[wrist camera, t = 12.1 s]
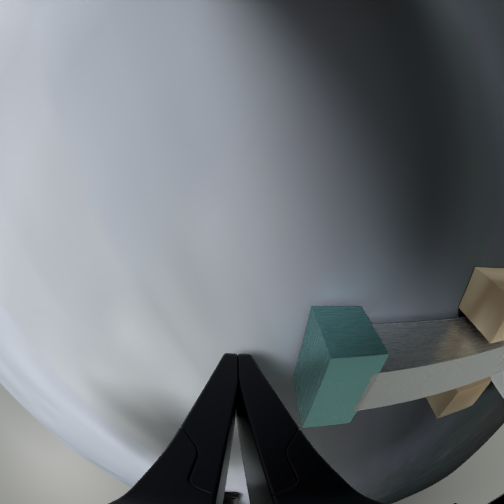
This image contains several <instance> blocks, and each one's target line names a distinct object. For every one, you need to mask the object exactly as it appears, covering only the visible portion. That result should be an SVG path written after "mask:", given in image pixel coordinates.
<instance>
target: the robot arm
mask: <svg viewBox="0 0 504 504" xmlns="http://www.w3.org/2000/svg"><path fill="white" fill-rule="evenodd" d="M235 417H237V425H238V432H239V439H240V445H241V452H242V458H243V464H244V470H245V476H246V482H247V488H248V494H249V500H250V504H384V503H381V502H378V501H375V500H373V499H370V498H368V497H366V496H364V495H362V494H360V493H359V492H357V491H356V490H355V489H353V488H352V487H351V486H350V485H349V484H348V483H347V482H346V481H345V480H344V479H343V478H342V477H341V476H340V475H339V474H338V473H337V472H336V471H335V470H334V469H333V468H332V467H331V466H330V465H329V464H328V463H327V462H326V461H325V460H324V459H323V458H322V457H321V456H320V455H319V454H318V452H317V451H316V450H315V449H314V448H313V446H312V445H311V444H310V442H309V441H308V440H307V439H306V437H305V436H304V434H303V433H302V431H301V430H299V427H298V426H297V424H296V423H295V422H294V420H293V419H292V417H291V416H290V414H289V413H288V411H287V410H286V408H285V407H284V405H283V404H282V402H281V401H280V399H279V398H278V396H277V395H276V393H275V392H274V390H273V389H272V387H271V386H270V384H269V383H268V381H267V379H266V378H265V376H264V375H263V373H262V372H261V370H260V369H259V367H258V365H257V364H256V362H255V361H254V359H253V357H252V356H251V355H250V354H238V356H237V354H231V353H225V354H224V355H223V357H222V359H221V360H220V362H219V364H218V365H217V367H216V369H215V370H214V372H213V374H212V376H211V377H210V379H209V381H208V382H207V384H206V386H205V387H204V389H203V391H202V392H201V394H200V396H199V397H198V399H197V401H196V402H195V404H194V406H193V407H192V409H191V411H190V412H189V414H188V416H187V417H186V419H185V421H184V422H183V424H182V426H181V428H180V429H179V430H178V432H177V433H176V435H175V437H174V438H173V440H172V441H171V443H170V444H169V446H168V447H167V448H166V450H165V451H164V452H163V453H162V455H161V456H160V457H159V458H158V460H157V461H156V462H155V463H154V464H153V465H152V467H151V468H150V469H149V470H148V471H147V472H146V473H145V474H144V475H143V477H142V478H141V479H140V480H139V481H138V482H137V483H136V484H135V485H134V486H133V487H132V488H131V489H130V490H129V491H128V492H127V493H126V494H125V495H123V496H122V497H120V498H119V499H117V500H115V501H113V502H111V503H109V504H238V503H239V499H240V495H239V494H234V493H225V486H226V479H227V473H228V466H229V459H230V452H231V446H232V439H233V432H234V425H235ZM454 504H457V503H454ZM488 504H504V494H502V495H500V496H499V497H497V498H496V499H494V500H493V501H491V502H490V503H488Z"/></svg>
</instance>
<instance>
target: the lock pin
mask: <svg viewBox="0 0 504 504" xmlns="http://www.w3.org/2000/svg"><path fill="white" fill-rule="evenodd" d="M503 369H504V340H502V341H499V342H495V343H491V344H490V343H489V341H488V340H487V339H486V338H485V337H484V335H483V334H482V333H481V332H480V331H479V330H478V329H477V327H476V326H475V325H474V324H473V323H472V322H471V321H470V320H469V319H468V317H467V316H466V317H458V318H448V319H438V320H426V321H414V322H399V323H381V324H372V323H371V322H370V320H369V318H368V317H367V315H366V313H365V312H364V310H363V308H362V307H361V306H312V307H311V311H310V315H309V319H308V323H307V327H306V331H305V335H304V339H303V343H302V346H301V350H300V354H299V357H298V361H297V365H296V368H295V372H294V375H293V383H294V388H295V393H296V398H297V403H298V409H299V414H300V419H301V424H302V428H309V427H320V426H329V425H337V424H345V423H350V422H351V420H352V419H353V417H354V416H355V414H356V413H357V411H360V410H366V409H372V408H378V407H383V406H389V405H394V404H398V403H403V402H407V401H412V400H416V399H420V398H424V397H428V396H432V395H435V394H439V393H442V392H446V391H449V390H452V389H455V388H459V387H462V386H465V385H468V384H470V383H473V382H476V381H479V380H482V379H484V378H487V377H489V376H492V375H495V374H497V373H499V372H502V371H503Z"/></svg>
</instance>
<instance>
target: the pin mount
mask: <svg viewBox="0 0 504 504" xmlns="http://www.w3.org/2000/svg"><path fill="white" fill-rule="evenodd" d="M458 308H459V309H460V310H461V311H462V312H463V313H464V314H465V315H466V316H467V317H468V319H469V320H470V321H471V322H472V323H473V324H474V325H475V326H476V327H477V329H478V330H479V331H480V332H481V333H482V334H483V335H484V337H485V338H486V339H487V340H488V341H489V343H490V344H491V343H495V342H499V341H502V340H504V268H485V267H475V269H474V271H473V274H472V276H471V279H470V282H469V284H468V287H467V289H466V291H465V294H464V296H463V298H462V301H461V303H460V305H459V307H458ZM491 380H492V379H491V378H490V376H489V377H487V378H484V379H482V380H479V381H476V382H473V383H470V384H468V385H465V386H462V387H459V388H455V389H452V390H449V391H446V392H442V393H439V394H435V395H432V396H428V397H426V399H427V401H428V402H429V404H430V406H431V408H432V410H433V412H434V414H435V416H436V418H440V417H443V416H446V415H449V414H451V413H454V412H457V411H459V410H462V409H464V408H467V407H469V406H472V405H473V404H474V402H475V401H476V400H477V399H478V397H479V396H480V395H481V394H482V392H483V391H484V390H485V388H486V387H487V386H488V384H489V383H490V382H491Z"/></svg>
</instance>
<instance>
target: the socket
mask: <svg viewBox="0 0 504 504" xmlns="http://www.w3.org/2000/svg"><path fill="white" fill-rule="evenodd" d="M490 378H491V379H492V380H491V381H492V382H493V384H494V385H495V387H496V388H497V389H498V391H499V392H500V394H501V395H502V397H503V398H504V369H503V371H502V372H499V373H497V374H495V375H492V376H490Z"/></svg>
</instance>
